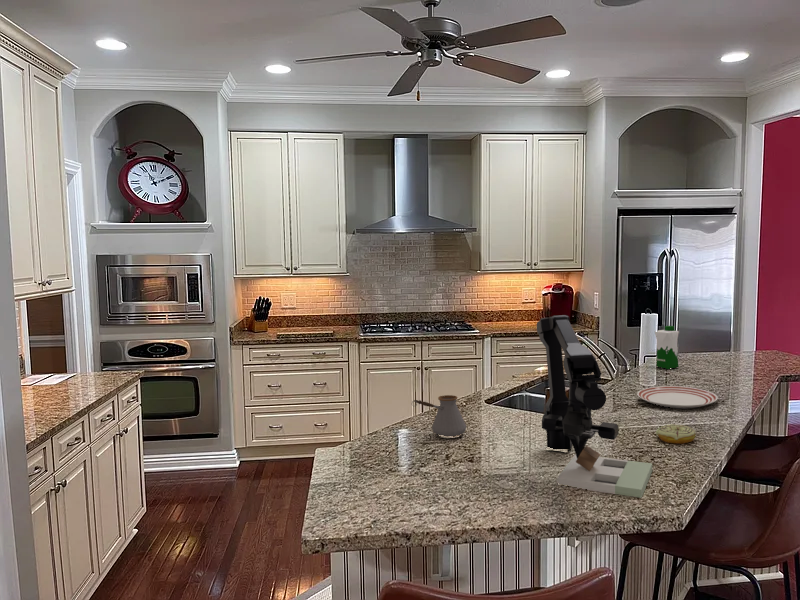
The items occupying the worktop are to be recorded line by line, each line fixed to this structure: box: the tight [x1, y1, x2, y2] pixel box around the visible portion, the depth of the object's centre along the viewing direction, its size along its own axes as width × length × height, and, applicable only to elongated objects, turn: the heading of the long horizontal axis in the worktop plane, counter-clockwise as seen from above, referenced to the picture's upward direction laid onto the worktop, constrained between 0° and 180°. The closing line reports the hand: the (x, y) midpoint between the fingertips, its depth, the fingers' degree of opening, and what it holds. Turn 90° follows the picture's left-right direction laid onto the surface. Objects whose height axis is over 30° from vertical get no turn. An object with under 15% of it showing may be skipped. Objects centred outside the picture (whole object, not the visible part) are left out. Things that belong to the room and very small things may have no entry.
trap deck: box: [556, 453, 653, 499], centre depth 153 cm, size 20×19×2 cm
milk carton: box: [654, 325, 680, 370], centre depth 284 cm, size 9×9×20 cm
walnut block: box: [576, 444, 601, 471], centre depth 155 cm, size 4×4×4 cm
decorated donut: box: [655, 423, 697, 445], centre depth 181 cm, size 10×11×4 cm
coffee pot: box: [411, 394, 467, 436], centre depth 192 cm, size 21×12×15 cm, turn 132°
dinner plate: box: [636, 385, 719, 409], centre depth 223 cm, size 28×27×3 cm
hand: (578, 458), depth 156 cm, fingers closed, pressing on walnut block
